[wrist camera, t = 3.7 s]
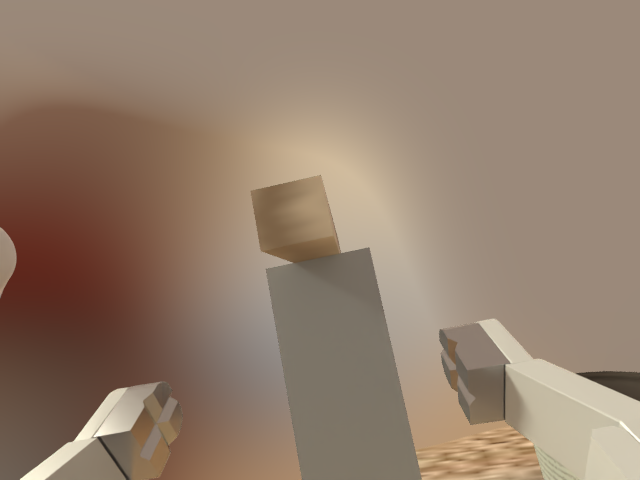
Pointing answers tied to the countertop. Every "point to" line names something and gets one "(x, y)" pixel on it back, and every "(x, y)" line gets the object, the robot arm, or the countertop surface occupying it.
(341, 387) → the upright
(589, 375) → the coffee can
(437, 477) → the countertop surface
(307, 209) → the rail
